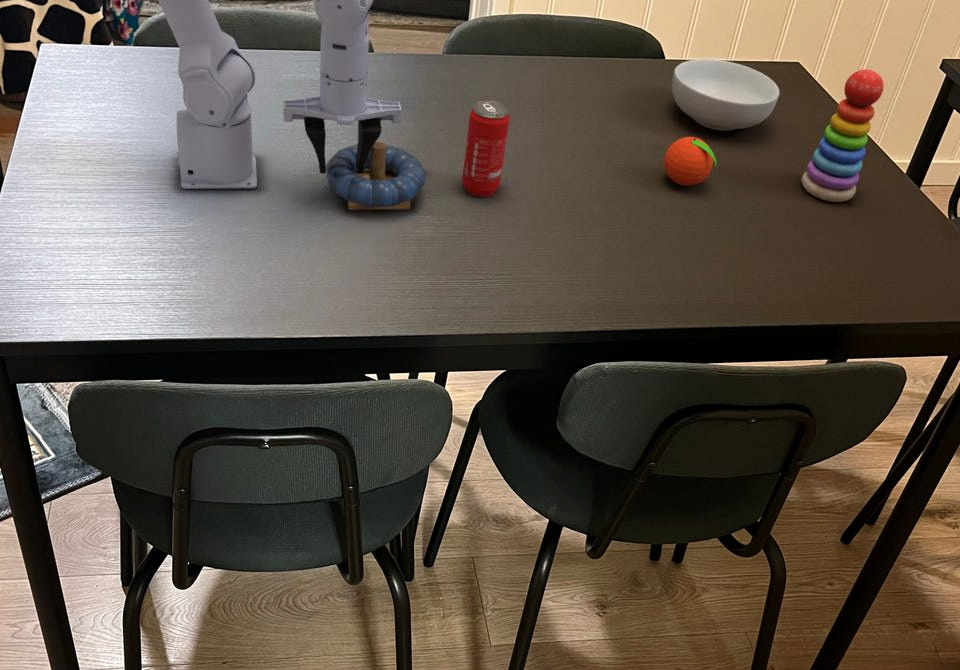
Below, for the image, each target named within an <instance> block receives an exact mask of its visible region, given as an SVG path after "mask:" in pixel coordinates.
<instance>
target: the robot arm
mask: <svg viewBox="0 0 960 670" xmlns="http://www.w3.org/2000/svg"><path fill="white" fill-rule="evenodd" d="M157 1H158V4H159V6H160V8H161V10H162V12H163V15H164V16H165V19H166V21H167V23H168V26H169V28H170V30H171V32H172V34H173V37H174V39H175V42H176V43H177V45H178V48H179V55H178V66H177V74H178V77H179V79H180V81H181V84H182V98H183V99H182V100H183V104H184V106H185V108H186V109H182V110H177V111H176V139H177V141H176V142H177V165H178V166H179V172H180V173H179V174H180V187H181V188H182V189H184V190H185V189H186V190H189V189H191V190H192V189H195V190H196V189H198V190H201V189H204V190H205V189H207V190H208V189H210V190H211V189H256V188H257V187H258V180H257V179H258V178H257V160H256V159H257V158H256V155H254V154H253V134H252V133H253V132H252V129H253V128H252V109H251V105H250V103H249V100H248V94H249V93H250V92H251V91H252V89H253V88H254V86H255V83H256V79H257V77H256V71H255V68H254V66H253V64H252V62H251V60H249V58H248V57H247V56H246V55H245V54H243V52H242V51H241V50H240V48H239V47H238V44H237V42H236V40H235V38H234V37H232V36H231V35H229V33H226V32H224V31H223V30H222V29H221V27H220V25H219V22H218V19H217V18H216V15H215V13H214V11H213V10H214V9H213V7H212V6H211V3H210V1H209V0H157ZM373 4H374V0H314V2H313V6H314V11H315V13H316V16H317V17H318V20H320V22H321V32H320V43H319V44H320V47H319V48H320V50H319V51H320V53H319V54H320V55H319V58H320V59H319V66H320V67H319V95H318V96H312V97H306V98H300V99H290V100H289V99H287V100H285V99H284V100H282V103H283V104H282V111H283V112H282V114H283V122H284V123H292V122H294V120H303V121H304V123H303V124H304V130H305V133H306V135H307V138H308V139H309V141H310V143H311V145H312V148H313V149H314V153H315V155H316V157H317V161H318V162H317V163H318V168H319V169H318V170H319V174H321V175H322V174H326V165H327V163H326V138H327V137H326V135H327V134H326V133H327V132H326V123H325V120H326V121H332V122H336V124H337V125H339V126H353V125H354V124H355V122H357V144H358V146H357V155H356V167H357V172H358V173H363V170H365V169H364V166H365V163H366V160H367V157H368V155H369V153H370V151H371V149H372V147H373V145H374V144H375V142H378V140H379V138H380V137H381V135H382V130H383V129H382V124H381V123H382V121H391V122H392V123H393V124H401V123H402V112H403V109H402V105H401V102H399V101H387V100H383V99H382V100H381V99H375V98H369V97H367V93H368V72H369V53H370V52H369V48H370V46H369V45H370V35H369V30H370V24H369V23H370V14H369V13H368V12H369V10H370V8H371V7H372V5H373ZM326 175H327V174H326Z"/></svg>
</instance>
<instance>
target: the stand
mask: <svg viewBox="0 0 960 670" xmlns="http://www.w3.org/2000/svg"><path fill="white" fill-rule="evenodd" d="M386 145H387V144H386V143H385V142H383V141H376V142H375V144H374V145H373V147H372V149H371V154H370V169H364V170H363V173H358V172H354V173H355V174H356V175H357V176H359V177H363V178H367V179H370V180H389V179H392V178H394V177H397V175H395V174H394V173H392V172H388V171H385V163H386ZM411 201H412V200H409V201H407V202H404V203H401V204H398V205H395V206H391V207H368V206H364V205H361V204H357V203H354V202H350V201H347V206H348V210H349V211H351V210H352V211H353V210H354V211H355V210H411Z"/></svg>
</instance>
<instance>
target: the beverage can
mask: <svg viewBox="0 0 960 670" xmlns="http://www.w3.org/2000/svg"><path fill="white" fill-rule="evenodd" d="M509 112H510V111H509V108H508V107H507V106H506V105H504V104H503V103H501V102H497V101H493V100H482V101H481V100H480V101H478V102H475V103H474V104H473V105H472V108H471V110H470V112H469V119H468V120H469V121H468V127H467V136H466V143H465V144H466V145H465V153H464V161H463V169H462V178H461V181H462V183H463V186H464V191H465V192H466V193H468V194H469V195H472V196H474V197H478V198H487V197H491V196H494V195H495V194H496V191H497V190H498V189H499V188H500V185H501V181H502V180H501V179H502V172H503V165H504V160H505V159H504V158H505V152H506V146H507V140H508V139H507V138H508V132H509V126H510V120H511V117H510V114H509Z"/></svg>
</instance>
